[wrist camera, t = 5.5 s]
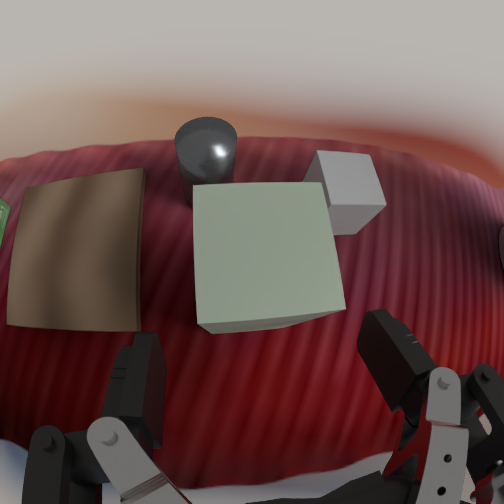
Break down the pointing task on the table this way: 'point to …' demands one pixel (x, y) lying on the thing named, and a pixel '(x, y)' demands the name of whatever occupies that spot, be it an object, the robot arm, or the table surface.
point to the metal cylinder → (205, 153)
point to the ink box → (3, 217)
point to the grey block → (347, 189)
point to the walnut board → (79, 254)
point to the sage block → (263, 256)
